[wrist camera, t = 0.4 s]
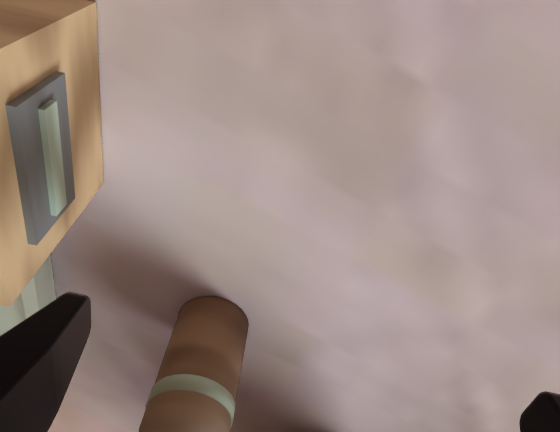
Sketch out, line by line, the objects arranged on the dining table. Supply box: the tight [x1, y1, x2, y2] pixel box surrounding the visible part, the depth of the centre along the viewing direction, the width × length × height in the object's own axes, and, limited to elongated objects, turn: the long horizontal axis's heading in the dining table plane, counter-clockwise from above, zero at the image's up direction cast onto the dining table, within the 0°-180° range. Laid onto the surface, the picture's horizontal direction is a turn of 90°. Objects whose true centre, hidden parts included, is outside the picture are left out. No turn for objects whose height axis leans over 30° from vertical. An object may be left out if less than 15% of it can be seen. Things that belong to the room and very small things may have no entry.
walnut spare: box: [139, 296, 249, 432], centre depth 24 cm, size 4×4×7 cm
